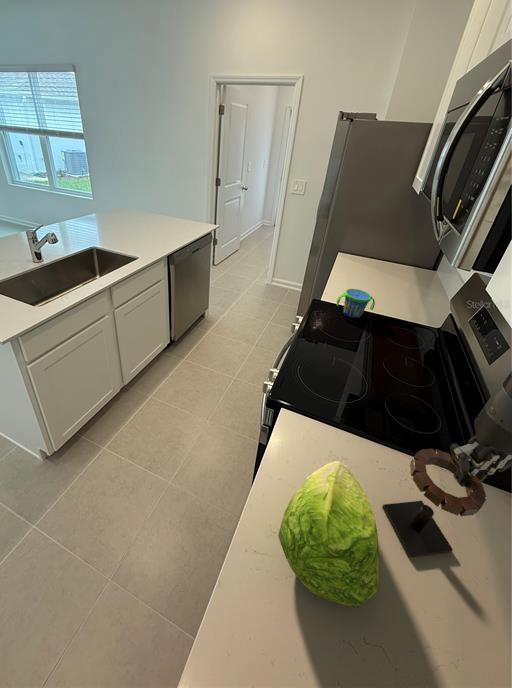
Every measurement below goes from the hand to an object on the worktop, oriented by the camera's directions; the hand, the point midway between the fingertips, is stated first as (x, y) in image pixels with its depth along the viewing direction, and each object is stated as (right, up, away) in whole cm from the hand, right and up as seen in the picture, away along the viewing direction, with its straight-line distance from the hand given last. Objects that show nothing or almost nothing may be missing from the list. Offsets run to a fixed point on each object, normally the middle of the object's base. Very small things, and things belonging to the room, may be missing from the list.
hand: (465, 480), depth 57 cm
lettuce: (-24, -13, +5) cm, 28 cm away
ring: (-4, 0, 0) cm, 5 cm away
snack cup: (+12, +28, +80) cm, 86 cm away
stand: (-6, -13, +6) cm, 16 cm away
